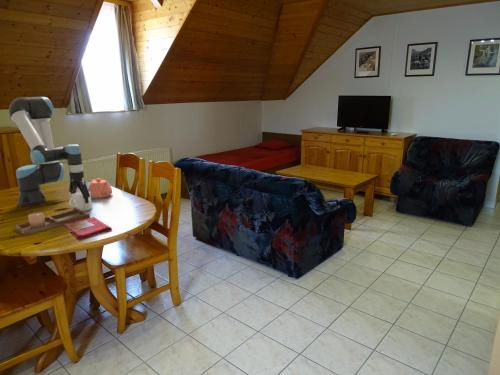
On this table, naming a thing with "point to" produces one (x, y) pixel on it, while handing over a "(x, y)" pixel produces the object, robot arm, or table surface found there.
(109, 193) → the teapot
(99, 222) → the dish towel
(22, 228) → the caddy
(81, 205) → the mug
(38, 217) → the peach rounded cylinder
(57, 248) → the table surface
